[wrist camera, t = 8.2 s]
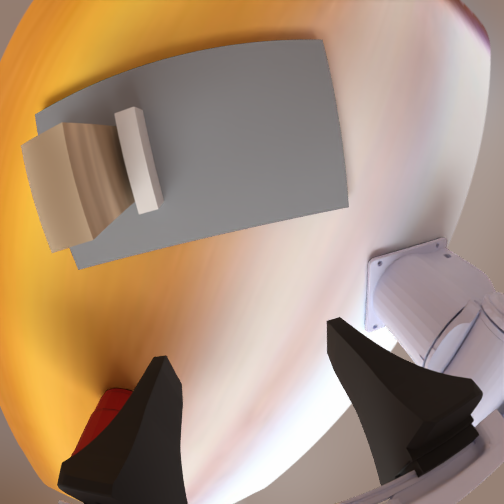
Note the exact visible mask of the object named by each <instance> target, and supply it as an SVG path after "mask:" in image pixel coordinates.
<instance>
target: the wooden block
mask: <svg viewBox="0 0 504 504" xmlns="http://www.w3.org/2000/svg"><path fill="white" fill-rule="evenodd" d="M21 148H22V153H23V158H24V163H25V168H26V172H27V176H28V181H29V185H30V188H31V192H32V196H33V199H34V203H35V206H36V209H37V212H38V216H39V219H40V222H41V225H42V228H43V230H44V233H45V236H46V239H47V241H48V244H49V247H50V249H51V252H52V253H54V252H57V251H60V250H63V249H66V248H69V247H72V246H76V245H79V244H82V243H85V242H88V241H92V240H94V239H95V238H96V237H97V236H98V235H99V234H100V233H101V232H102V231H103V230H104V229H105V228H106V227H107V226H108V225H110V224H111V223H112V222H113V221H114V220H115V219H116V218H117V217H118V216H119V215H120V214H122V213H123V212H124V211H125V210H126V209H127V208H128V207H129V206H131V205H132V204H133V203H134V202H135V199H134V196H133V192H132V188H131V185H130V181H129V177H128V173H127V169H126V165H125V161H124V157H123V153H122V148H121V144H120V140H119V135H118V130H117V126H108V125H97V124H84V123H66V122H62V123H60V124H58V125H56V126H54V127H52V128H50V129H49V130H47V131H45V132H43V133H41V134H40V135H38V136H36V137H34V138H33V139H31V140H29V141H28V142H26V143H24V144H23V145H21Z"/></svg>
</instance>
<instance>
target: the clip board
mask: <svg viewBox="0 0 504 504" xmlns="http://www.w3.org/2000/svg"><path fill="white" fill-rule="evenodd" d="M35 118H36V125H37V131H38V135H40V134H41V133H43V132H45V131H47V130H49V129H50V128H52V127H54V126H56V125H58V124H60V123H62V122H66V123H84V124H97V125H108V126H117V130H118V135H119V140H120V144H121V148H122V153H123V157H124V161H125V165H126V169H127V173H128V177H129V181H130V185H131V188H132V192H133V196H134V199H135V202H134V203H133V204H132V205H131V206H129V207H128V208H127V209H126V210H125V211H124V212H123V213H122V214H120V215H119V216H118V217H117V218H116V219H115V220H114V221H113V222H112V223H111V224H110V225H108V226H107V227H106V228H105V229H104V230H103V231H102V232H101V233H100V234H99V235H98V236H97V237H96V238H95V239H94V240H92V241H88V242H85V243H82V244H79V245H76V246H72V247H69V248H70V250H71V253H72V255H73V258H74V260H75V262H76V265H77V267H78V270H80V269H83V268H87V267H91V266H95V265H98V264H102V263H106V262H110V261H114V260H118V259H121V258H125V257H129V256H133V255H137V254H141V253H145V252H149V251H153V250H157V249H161V248H165V247H170V246H174V245H178V244H182V243H186V242H190V241H195V240H199V239H203V238H207V237H212V236H216V235H220V234H225V233H229V232H234V231H238V230H242V229H247V228H251V227H256V226H260V225H265V224H270V223H274V222H279V221H284V220H288V219H293V218H298V217H303V216H307V215H312V214H317V213H322V212H327V211H332V210H337V209H342V208H347V207H349V204H348V191H347V180H346V170H345V161H344V153H343V145H342V137H341V130H340V124H339V117H338V111H337V105H336V100H335V94H334V89H333V84H332V79H331V74H330V70H329V65H328V61H327V57H326V52H325V48H324V44H323V40H276V41H263V42H252V43H243V44H236V45H229V46H222V47H216V48H211V49H205V50H200V51H196V52H191V53H187V54H182V55H178V56H174V57H170V58H167V59H163V60H160V61H156V62H153V63H149V64H146V65H143V66H140V67H137V68H134V69H131V70H128V71H126V72H123V73H120V74H117V75H115V76H112V77H110V78H107V79H105V80H102V81H100V82H98V83H95V84H93V85H91V86H89V87H86V88H84V89H82V90H80V91H78V92H76V93H74V94H72V95H70V96H68V97H66V98H64V99H62V100H60V101H58V102H56V103H54V104H53V105H51V106H49V107H47V108H45V109H44V110H42V111H40V112H39V113H37V114H35Z"/></svg>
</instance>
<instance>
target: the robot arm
mask: <svg viewBox="0 0 504 504" xmlns="http://www.w3.org/2000/svg"><path fill="white" fill-rule="evenodd" d="M446 246H447V240H446V239H445V238H444V237H442V238H439V239H436V240H432V241H429V242H426V243H423V244H419V245H416V246H413V247H409V248H406V249H403V250H399V251H396V252H392V253H389V254H385V255H382V256H378V257H375V258H372V259H371V260H370V261H369V263H368V287H367V306H366V319H365V330H366V331H367V332H371V331H374V330H377V329H379V328H382V327H384V326H386V327H387V328H388V329H389V331H390V332H391V333H392V334H393V336H394V337H395V338H396V339H397V341H398V342H399V343H400V344H401V346H402V347H403V348H404V349H405V350H406V352H407V353H408V354H409V356H410V357H411V358H412V359H413V361H414V362H415V363H416V364H413V363H411V362H409V361H406V360H404V359H402V358H400V357H398V356H396V355H394V354H393V353H391V352H389V351H387V350H386V349H384V348H382V347H381V346H379V345H378V344H376V343H375V342H373V341H372V340H370V339H369V338H367V337H366V336H364V335H363V334H362V333H360V332H359V331H357V330H356V329H355V328H353V327H352V326H351V325H349V324H348V323H347V322H346V321H344V320H343V319H342V318H340V317H339V318H335V319H332V320H329V321H327V354H328V356H329V359H330V361H331V364H332V366H333V369H334V371H335V373H336V375H337V377H338V379H339V381H340V382H341V384H342V386H343V388H344V390H345V391H346V393H347V395H348V397H349V399H350V400H351V402H352V404H353V406H354V408H355V410H356V412H357V414H358V417H359V419H360V422H361V424H362V427H363V429H364V432H365V434H366V437H367V440H368V443H369V446H370V449H371V452H372V455H373V458H374V462H375V465H376V469H377V472H378V476H379V480H380V484H381V486H380V487H378V488H376V489H373V490H371V491H368V492H366V493H363V494H361V495H358V496H356V497H353V498H350V499H347V500H344V501H341V502H339V503H335V504H378V503H380V502H382V501H385V500H387V499H389V498H390V499H389V500H388V501H387V502H385V503H383V504H456V503H457V502H459V501H460V500H461V499H463V498H464V497H465V496H467V495H468V494H469V493H470V492H471V491H473V490H474V489H475V488H476V487H477V486H478V485H480V484H481V483H482V482H483V481H484V480H485V479H486V478H488V476H490V475H491V474H492V473H493V472H494V471H495V470H496V469H497V468H498V467H499V466H500V465H501V464H502V463H503V462H504V293H501V292H496V291H495V289H494V286H493V284H492V282H491V280H490V279H489V277H488V276H487V275H486V274H485V273H483V271H481V270H480V269H478V268H477V267H475V266H474V265H472V264H471V263H469V262H468V261H466V260H464V259H463V258H461V257H460V256H458V255H457V254H455V253H453V252H452V251H450V250H449V249H447V248H446ZM379 261H380V263H379V264H378V262H379ZM182 408H183V398H182V384H181V382H180V380H179V378H178V377H177V375H176V373H175V371H174V369H173V367H172V366H171V364H170V362H169V360H168V358H167V356H159V357H154V358H153V359H152V361H151V363H150V364H149V366H148V368H147V369H146V371H145V373H144V374H143V376H142V378H141V379H140V381H139V383H138V384H137V386H136V387H135V389H134V391H133V392H132V394H131V395H130V397H129V398H128V400H127V401H126V403H125V404H124V406H123V407H122V409H121V410H120V411H119V412H118V414H117V415H116V416H115V417H114V419H113V420H112V421H111V422H110V423H109V425H108V426H107V427H106V428H105V429H104V430H103V431H102V432H101V433H100V434H99V435H98V436H97V437H96V438H95V439H94V440H93V441H91V442H90V443H89V444H88V445H87V446H85V447H84V448H83V449H82V450H80V451H79V452H78V453H76V454H75V455H73V456H72V457H70V458H69V459H67V460H66V461H64V462H62V465H61V469H60V474H59V479H58V484H57V485H58V487H59V489H61V490H62V491H63V492H65V493H67V494H68V495H70V496H72V497H74V498H76V499H78V500H79V501H81V502H83V503H84V504H188V503H187V498H186V493H185V487H184V481H183V473H182V465H181V453H180V440H181V423H182ZM58 504H72V503H68V502H65V501H62V500H59V501H58Z"/></svg>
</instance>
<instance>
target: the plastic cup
mask: <svg viewBox="0 0 504 504" xmlns="http://www.w3.org/2000/svg"><path fill="white" fill-rule="evenodd" d="M132 392H133V391H129V390H125V389H117V388H113V389H110V390H107V391H106V392H105V394H104V395H103V396H102V397H101V399H100V401H99V403H98V405H97V407H96V409H95V411H94V412H93V413H92V415H91V417H90V419H89V421H88V423H87V425H86V427H85V429H84V431H83V433H82V435H81V437H80V440H79V442H78V444H77V446H76V448H75V451H74V452H73V453H72V456H73V455H75V454H76V453H78V452H79V451H80V450H82V449H83V448H84V447H85V446H87V445H88V444H89V443H90V442H91V441H93V440H94V439H95V438H96V437H97V436H98V435H99V434H100V433H101V432H102V431H103V430H104V429H105V428H106V427H107V426H108V425H109V423H110V422H111V421H112V420H113V419H114V417H115V416H116V415H117V414H118V412H119V411H120V410H121V409H122V407H123V406H124V404H125V403H126V401H127V400H128V398H129V397H130V395H131V394H132ZM72 456H71V457H72Z"/></svg>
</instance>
